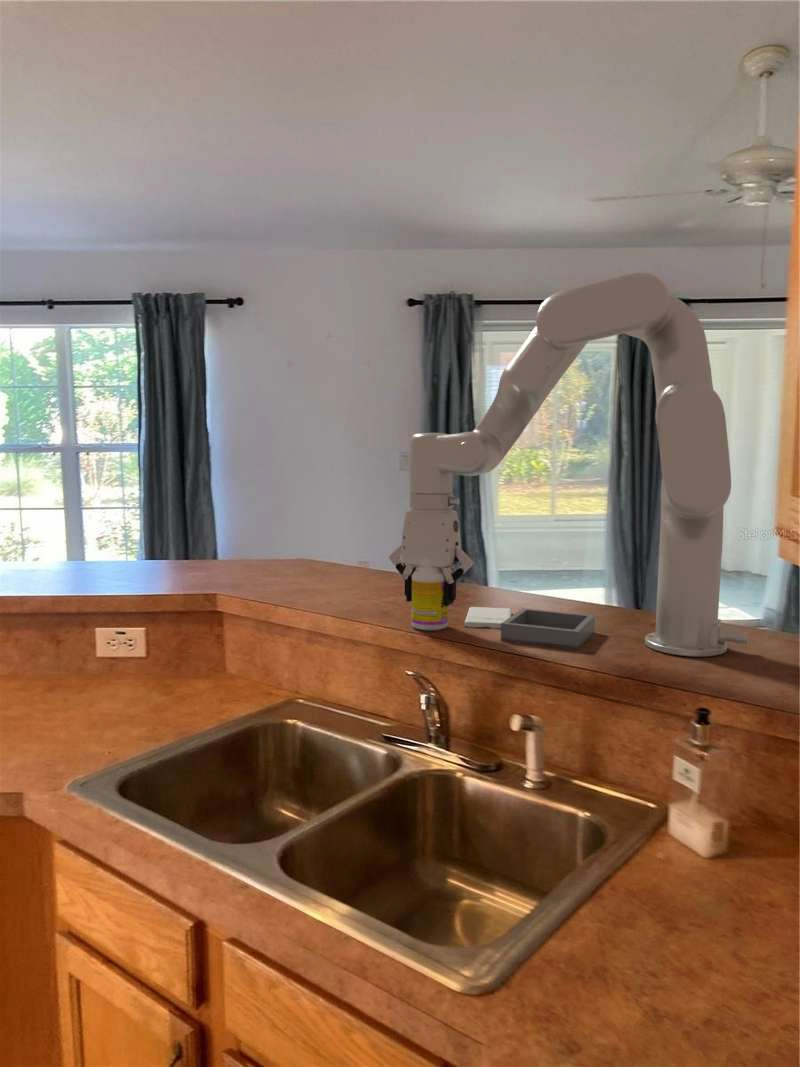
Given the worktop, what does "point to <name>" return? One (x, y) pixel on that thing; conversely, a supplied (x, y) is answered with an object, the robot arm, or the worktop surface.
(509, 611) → the external hard drive
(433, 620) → the supplement bottle
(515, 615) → the tray
